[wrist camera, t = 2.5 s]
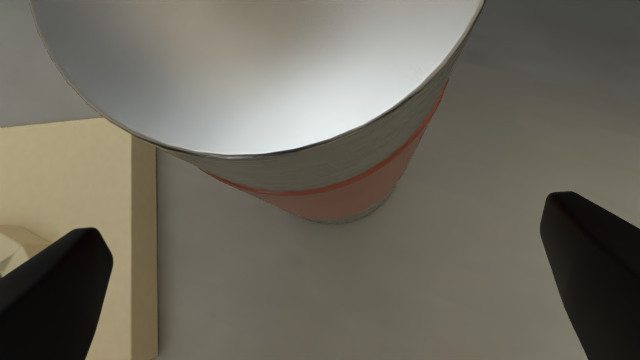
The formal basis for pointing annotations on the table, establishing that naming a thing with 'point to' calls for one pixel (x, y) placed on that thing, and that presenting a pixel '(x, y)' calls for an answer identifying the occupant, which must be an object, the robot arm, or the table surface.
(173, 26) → the tin
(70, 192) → the console
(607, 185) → the table surface
